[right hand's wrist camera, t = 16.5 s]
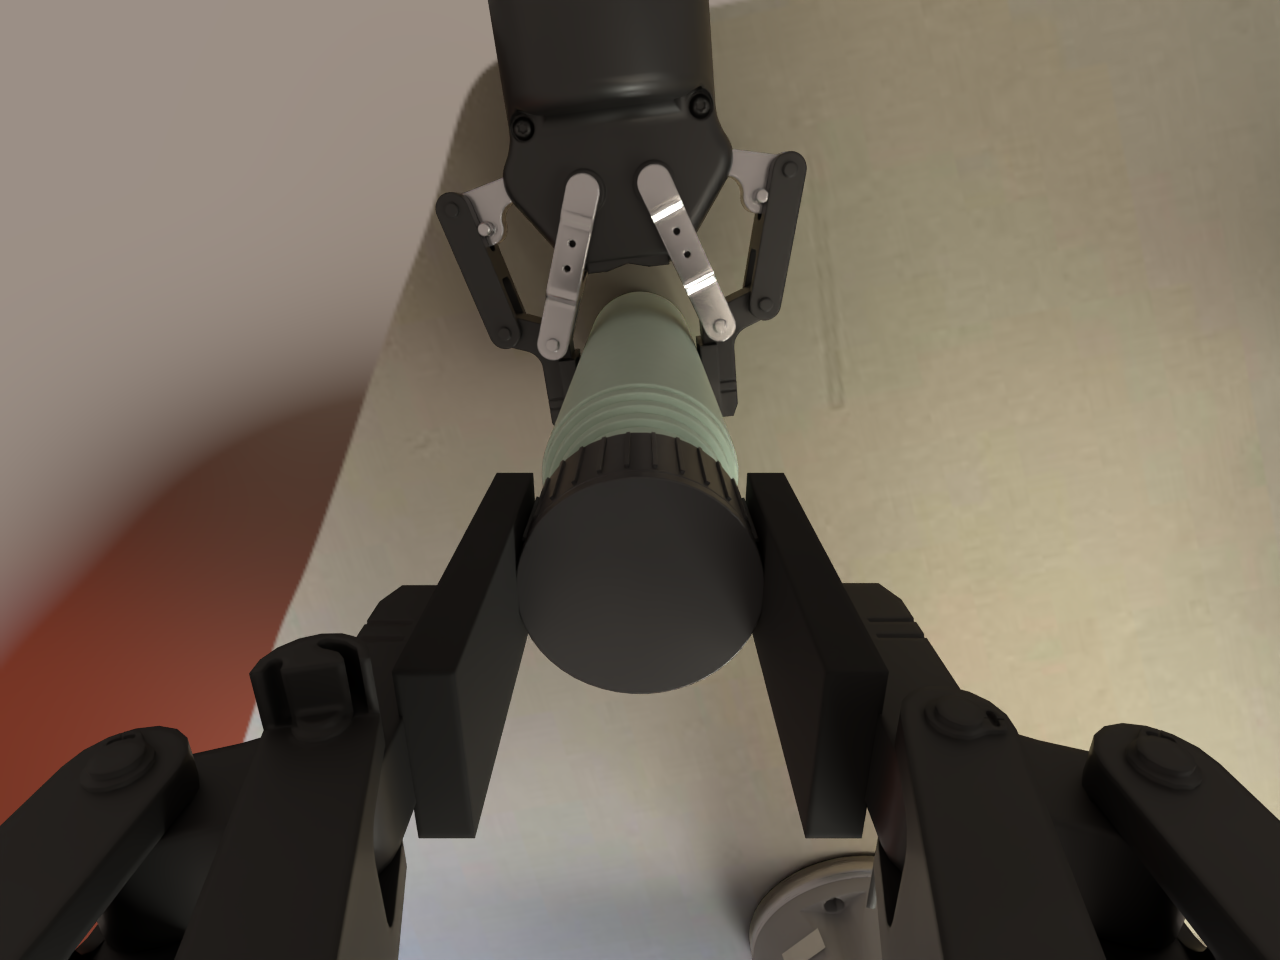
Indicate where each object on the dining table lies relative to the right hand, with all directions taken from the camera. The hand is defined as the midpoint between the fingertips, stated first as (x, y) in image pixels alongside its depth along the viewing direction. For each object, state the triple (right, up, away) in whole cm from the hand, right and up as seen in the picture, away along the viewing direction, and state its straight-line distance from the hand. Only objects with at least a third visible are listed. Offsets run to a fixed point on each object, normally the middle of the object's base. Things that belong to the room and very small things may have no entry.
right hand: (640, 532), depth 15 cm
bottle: (0, +8, +20) cm, 21 cm away
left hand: (0, +3, +15) cm, 15 cm away
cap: (0, -1, -2) cm, 2 cm away
